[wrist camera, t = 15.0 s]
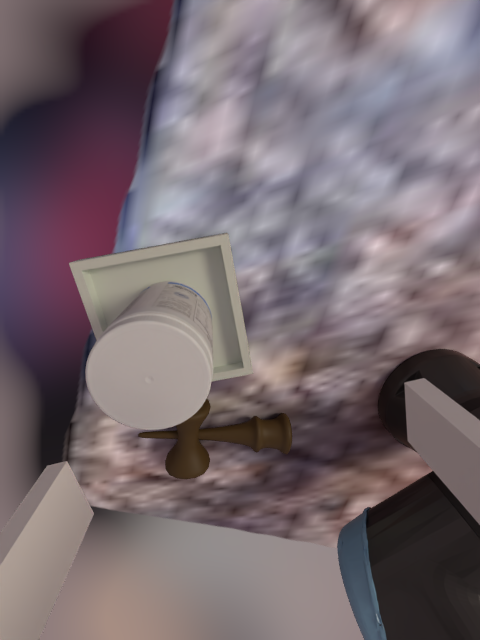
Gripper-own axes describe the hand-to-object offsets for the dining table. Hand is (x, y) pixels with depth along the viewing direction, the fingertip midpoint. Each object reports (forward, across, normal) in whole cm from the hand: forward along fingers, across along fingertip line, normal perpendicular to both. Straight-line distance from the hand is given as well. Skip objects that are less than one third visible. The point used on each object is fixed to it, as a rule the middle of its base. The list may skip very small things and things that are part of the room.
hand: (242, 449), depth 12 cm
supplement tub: (+26, +7, +1) cm, 27 cm away
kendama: (+27, +6, +18) cm, 33 cm away
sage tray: (+26, +7, +1) cm, 27 cm away
